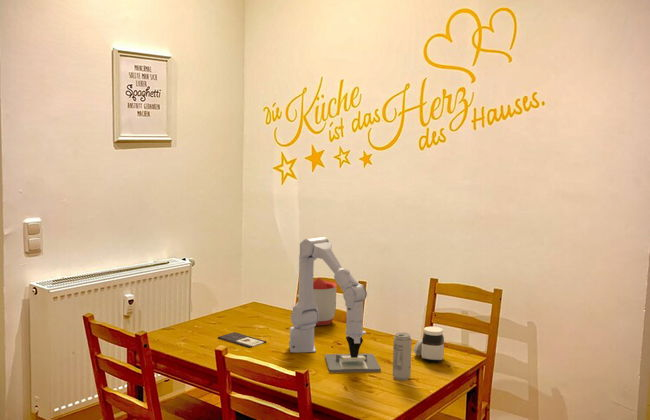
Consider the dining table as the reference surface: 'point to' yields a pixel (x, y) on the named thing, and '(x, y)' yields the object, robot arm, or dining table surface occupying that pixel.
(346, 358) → the tile
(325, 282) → the citrus juicer
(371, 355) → the grey flat piece
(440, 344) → the spread jar
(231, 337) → the chocolate bar
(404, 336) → the energy drink can
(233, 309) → the dining table surface
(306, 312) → the robot arm
